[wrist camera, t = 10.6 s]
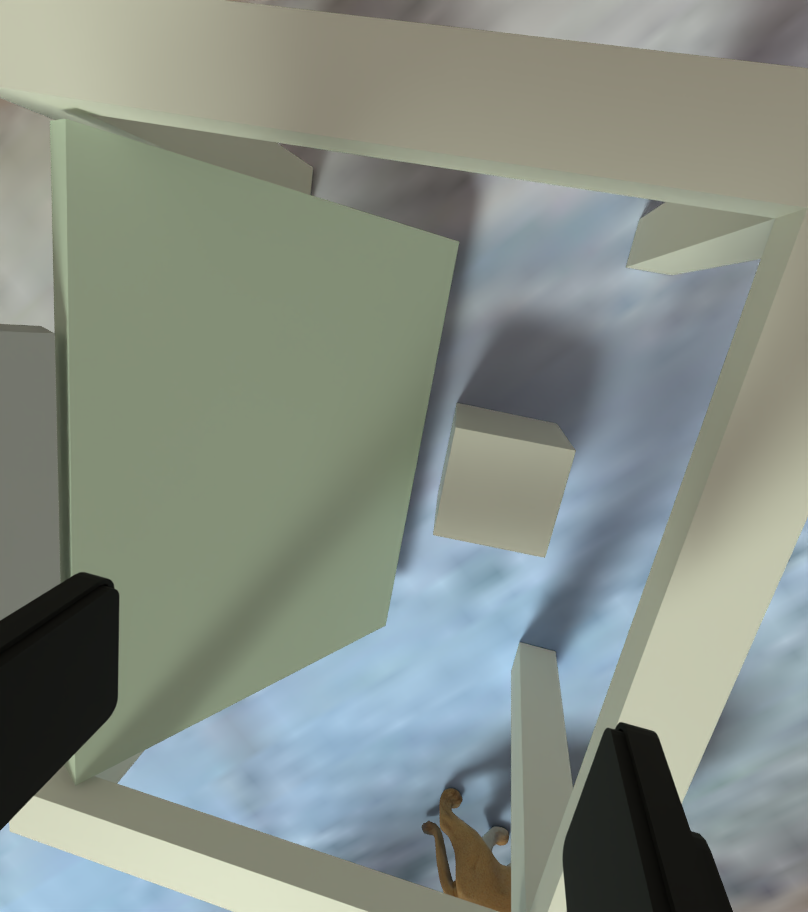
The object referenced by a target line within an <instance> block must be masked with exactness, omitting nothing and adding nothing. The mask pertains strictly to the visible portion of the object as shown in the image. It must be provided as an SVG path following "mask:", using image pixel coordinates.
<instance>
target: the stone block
mask: <svg viewBox="0 0 808 912" xmlns="http://www.w3.org/2000/svg"><path fill="white" fill-rule="evenodd" d="M575 452H576V450H575V449H574V447H573V446H572V445H571V443H570V442H569V440H568V439H567V437H566V436H565V435H564V433H563V432H562V430H561V429H560V428H559V426H558V425H557V424H556V423H551V422H547V421H542V420H537V419H532V418H528V417H523V416H518V415H513V414H509V413H504V412H499V411H494V410H490V409H485V408H480V407H475V406H470V405H465V404H460V403H457V404H456V408H455V413H454V418H453V423H452V428H451V432H450V437H449V442H448V447H447V452H446V457H445V461H444V466H443V471H442V476H441V481H440V485H439V490H438V496H437V505H436V513H435V522H434V531H433V535H436V536H441V537H446V538H451V539H455V540H460V541H465V542H470V543H475V544H480V545H485V546H490V547H495V548H500V549H505V550H510V551H515V552H520V553H524V554H529V555H534V556H539V557H544V558H545V556H546V553H547V549H548V546H549V542H550V539H551V535H552V532H553V528H554V525H555V521H556V518H557V514H558V511H559V507H560V504H561V501H562V497H563V494H564V490H565V487H566V483H567V480H568V476H569V473H570V469H571V466H572V462H573V459H574V455H575Z"/></svg>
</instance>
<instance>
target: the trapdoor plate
mask: <svg viewBox="0 0 808 912" xmlns="http://www.w3.org/2000/svg"><path fill="white" fill-rule="evenodd" d="M50 145H51V189H52V234H53V278H54V322H55V334H54V333H53V332H51V331H49V330H47V329H45V328H43V327H42V326H28V325H10V324H0V620H2V619H3V618H5V617H7V616H8V615H10V614H12V613H13V612H15V611H16V610H18V609H20V608H21V607H23V606H25V605H26V604H28V603H29V602H31V601H33V600H34V599H36V598H37V597H39V596H41V595H42V594H44V593H46V592H47V591H49V590H50V589H52V588H54V587H55V586H57V585H59V584H60V583H62V582H63V581H65V580H67V579H68V578H70V577H71V576H73V575H75V574H77V573H79V572H86V573H90V574H93V575H97V576H100V577H104V578H108V579H110V580H112V582H113V583H114V588H115V589H116V590H118V592H119V596H120V598H119V662H118V701H117V705H116V708H115V710H114V712H113V713H112V715H111V717H110V718H109V719H108V720H107V721H106V722H105V723H104V724H103V725H102V726H101V727H100V728H99V729H98V731H97V732H96V733H95V734H94V735H93V736H92V737H91V738H90V739H89V740H88V741H87V742H86V743H85V744H84V745H83V746H82V747H81V748H80V749H79V750H78V751H77V752H76V753H75V754H74V755H73V756H72V757H71V758H70V759H69V760H68V761H67V762H66V763H65V764H64V765H65V767H66V769H67V771H68V773H69V775H70V777H71V779H72V780H73V782H74V784H75V786H76V785H78V784H80V783H82V782H84V781H86V780H88V779H90V778H91V777H93V776H95V775H97V774H99V773H101V772H103V771H105V770H107V769H109V768H111V767H113V766H115V765H117V764H119V763H120V762H122V761H124V760H126V759H128V758H130V757H132V756H134V755H136V754H138V753H140V752H142V751H144V750H146V749H148V748H149V747H151V746H153V745H155V744H157V743H159V742H161V741H163V740H165V739H167V738H169V737H171V736H173V735H175V734H177V733H178V732H180V731H182V730H184V729H186V728H188V727H190V726H192V725H194V724H196V723H198V722H200V721H202V720H204V719H206V718H208V717H209V716H211V715H213V714H215V713H217V712H219V711H221V710H223V709H225V708H227V707H229V706H231V705H233V704H235V703H237V702H238V701H240V700H242V699H244V698H246V697H248V696H250V695H252V694H254V693H256V692H258V691H260V690H262V689H264V688H266V687H267V686H269V685H271V684H273V683H275V682H277V681H279V680H281V679H283V678H285V677H287V676H289V675H291V674H293V673H295V672H296V671H298V670H300V669H302V668H304V667H306V666H308V665H310V664H312V663H314V662H316V661H318V660H320V659H322V658H324V657H326V656H327V655H329V654H331V653H333V652H335V651H337V650H339V649H341V648H343V647H345V646H347V645H349V644H351V643H353V642H355V641H356V640H358V639H360V638H362V637H364V636H366V635H368V634H370V633H372V632H374V631H376V630H378V629H380V628H382V627H384V626H385V625H386V621H387V615H388V610H389V605H390V600H391V595H392V589H393V584H394V579H395V574H396V569H397V563H398V558H399V553H400V548H401V543H402V537H403V532H404V527H405V522H406V516H407V511H408V506H409V501H410V496H411V490H412V485H413V480H414V475H415V470H416V464H417V459H418V454H419V449H420V444H421V438H422V433H423V428H424V423H425V418H426V412H427V407H428V402H429V397H430V392H431V386H432V381H433V376H434V371H435V366H436V360H437V355H438V350H439V345H440V340H441V334H442V329H443V324H444V319H445V313H446V308H447V303H448V298H449V293H450V287H451V282H452V277H453V272H454V267H455V261H456V256H457V251H458V246H459V241H455V240H452V239H449V238H446V237H443V236H439V235H436V234H433V233H430V232H427V231H423V230H420V229H417V228H414V227H411V226H407V225H404V224H401V223H398V222H395V221H391V220H388V219H385V218H382V217H379V216H375V215H372V214H369V213H366V212H363V211H359V210H356V209H353V208H350V207H347V206H343V205H340V204H337V203H334V202H331V201H327V200H324V199H321V198H318V197H315V196H311V195H308V194H305V193H302V192H299V191H295V190H292V189H289V188H286V187H283V186H279V185H276V184H273V183H270V182H267V181H263V180H260V179H257V178H254V177H251V176H247V175H244V174H241V173H238V172H235V171H231V170H228V169H225V168H222V167H219V166H215V165H212V164H209V163H206V162H203V161H199V160H196V159H193V158H190V157H187V156H183V155H180V154H177V153H174V152H171V151H167V150H164V149H161V148H158V147H155V146H151V145H148V144H145V143H142V142H139V141H135V140H132V139H129V138H126V137H123V136H119V135H116V134H113V133H110V132H107V131H103V130H100V129H97V128H94V127H91V126H87V125H84V124H81V123H78V122H75V121H71V120H68V119H59V120H52V121H50ZM55 367H56V369H55ZM56 411H57V413H56ZM57 456H58V457H57ZM58 500H59V502H58ZM59 544H60V546H59Z"/></svg>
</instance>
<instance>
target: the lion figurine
mask: <svg viewBox="0 0 808 912" xmlns="http://www.w3.org/2000/svg"><path fill="white" fill-rule="evenodd" d="M461 802H462V796H461V795H460V793H459V792H458V791H457V790H456V789H453V788H449V789H446V790H444V791H443V793H442V795H441V798H440V804H439V808H440V827H441V829H442V831H443V832H444V833H445V834H446V835H447V836H448V837H449V839H450V841H451V843H452V846H453V848H454V852H455V860H456V881H454V882H453V880H452V877H451V873H450V869H449V864H448V860H447V855H446V849H445V845H444V840H443V836H442V833H441V830H440V828H439V827H438V826H437V825H436V824H435V823H433V822H430V821H427V822H426V823H423V825H422V830H423V832H424V833H425V834H428V835H434V837H435V847H436V859H437V867H438V873H439V879H440V883H441V886H442V889H443V892H444V893H445V894H448V895H451V896H454V897H457V898H460V899H463V900H466V901H469V902H472V903H475V904H478V905H481V906H484V907H487V908H490V909H493V910H496V911H499V912H511V863H510V864H509V865H507V866H504V865H501V864H500V863H499V862H498V861H497V859H496V858H495V857H494V855H493V853H492V848H493V846H494V845H495V844H497V845H500V846H501V845H506V844H507V842H508V840H509V833H508V831H507V830H506V829H505V828H502V827H492V828H491V829H490V830H489V831H488V832H487V833H486V834H485V835H484V836H483V837H481V836H480V835H479V834H478V832H476V831H475V830H474V829H473V828H471V827H470V826H469V825H467V824H466V823H465V822H464V821H463V820H461V819H460V818H458V817H457V816H456V815H455V814H454V813H453V812H452V808H457V807H459V806H460V804H461Z"/></svg>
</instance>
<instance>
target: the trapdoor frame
mask: <svg viewBox="0 0 808 912" xmlns="http://www.w3.org/2000/svg"><path fill="white" fill-rule="evenodd" d="M0 98H2V99H4V100H7V101H9V102H12V103H14V104H17V105H19V106H22V107H24V108H27V109H29V110H32V111H34V112H36V113H39V114H41V115H44V116H46V117H49V118H51V119H54V120H59V119H68V120H71V121H75V122H78V123H81V124H84V125H87V126H91V127H94V128H97V129H100V130H103V131H107V132H110V133H113V134H116V135H119V136H123V137H126V138H129V139H132V140H135V141H139V142H142V143H145V144H148V145H151V146H155V147H158V148H161V149H164V150H167V151H171V152H174V153H177V154H180V155H183V156H187V157H190V158H193V159H196V160H199V161H203V162H206V163H209V164H212V165H215V166H219V167H222V168H225V169H228V170H231V171H235V172H238V173H241V174H244V175H247V176H251V177H254V178H257V179H260V180H263V181H267V182H270V183H273V184H276V185H279V186H283V187H286V188H289V189H292V190H295V191H299V192H302V193H305V194H308V195H310V194H311V185H312V176H313V167H311V166H310V165H308V164H307V163H305V162H304V161H302V160H301V159H300V158H298V157H297V156H295V155H294V154H292V153H291V152H289V151H288V150H287V149H285V148H284V147H282V146H281V145H279V144H278V143H283V144H290V145H296V146H303V147H310V148H316V149H323V150H329V151H336V152H342V153H349V154H356V155H362V156H369V157H375V158H382V159H388V160H395V161H401V162H408V163H415V164H421V165H428V166H434V167H441V168H447V169H454V170H461V171H467V172H474V173H480V174H487V175H493V176H500V177H507V178H513V179H520V180H526V181H533V182H539V183H546V184H552V185H559V186H566V187H572V188H579V189H585V190H592V191H598V192H605V193H612V194H618V195H625V196H631V197H638V198H644V199H651V200H657V201H664V202H665V203H663V204H662V205H660V206H659V207H657V208H656V209H654V210H653V211H651V212H650V213H648V214H647V215H645V216H644V217H642V218H641V219H639V223H638V226H637V230H636V233H635V237H634V240H633V244H632V247H631V251H630V254H629V258H628V261H627V265H626V268H632V269H638V270H644V271H650V272H656V273H661V274H667V275H676V274H682V273H687V272H693V271H698V270H704V269H709V268H714V267H720V266H725V265H731V264H736V263H742V262H747V261H752V260H758V259H761V260H760V263H759V266H758V269H757V272H756V275H755V277H754V280H753V283H752V286H751V289H750V291H749V294H748V297H747V300H746V303H745V306H744V308H743V311H742V314H741V317H740V320H739V322H738V325H737V328H736V331H735V334H734V337H733V339H732V342H731V345H730V348H729V351H728V353H727V356H726V359H725V362H724V365H723V368H722V370H721V373H720V376H719V379H718V382H717V385H716V387H715V390H714V393H713V396H712V399H711V401H710V404H709V407H708V410H707V413H706V416H705V418H704V421H703V424H702V427H701V430H700V432H699V435H698V438H697V441H696V444H695V447H694V449H693V452H692V455H691V458H690V461H689V463H688V466H687V469H686V472H685V475H684V478H683V480H682V483H681V486H680V489H679V492H678V494H677V497H676V500H675V503H674V506H673V509H672V511H671V514H670V517H669V520H668V523H667V525H666V528H665V531H664V534H663V537H662V540H661V542H660V545H659V548H658V551H657V554H656V557H655V559H654V562H653V565H652V568H651V571H650V573H649V576H648V579H647V582H646V585H645V588H644V590H643V593H642V596H641V599H640V602H639V604H638V607H637V610H636V613H635V616H634V619H633V621H632V624H631V627H630V630H629V633H628V635H627V638H626V641H625V644H624V647H623V650H622V652H621V655H620V658H619V661H618V664H617V666H616V669H615V672H614V675H613V678H612V681H611V683H610V686H609V689H608V692H607V695H606V697H605V700H604V703H603V706H602V709H601V712H600V714H599V717H598V720H597V723H596V726H595V729H594V731H593V734H592V737H591V740H590V743H589V745H588V748H587V751H586V754H585V757H584V760H583V762H582V765H581V768H580V771H579V774H578V776H577V779H576V782H575V785H574V788H573V785H572V777H571V769H570V761H569V753H568V746H567V738H566V730H565V722H564V714H563V707H562V699H561V691H560V683H559V675H558V667H557V660H556V652H555V651H551V650H548V649H544V648H540V647H536V646H533V645H529V644H525V643H521V642H519V645H518V649H517V652H516V656H515V659H514V663H513V666H512V670H511V912H567V907H566V896H565V885H564V874H563V861H562V858H563V846H564V841H565V837H566V834H567V832H568V829H569V826H570V823H571V821H572V818H573V815H574V812H575V810H576V807H577V804H578V801H579V799H580V796H581V793H582V790H583V787H584V785H585V782H586V779H587V776H588V774H589V771H590V768H591V765H592V763H593V760H594V757H595V754H596V752H597V749H598V746H599V743H600V740H601V738H602V735H603V733H604V730H605V729H606V728H611V729H615V728H616V726H617V724H618V723H619V722H623V723H627V724H630V725H634V726H638V727H641V728H645V729H648V730H652V731H654V732H656V733H657V735H658V737H659V740H660V743H661V745H662V748H663V751H664V754H665V757H666V760H667V763H668V766H669V769H670V772H671V775H672V778H673V781H674V784H675V787H676V789H677V792H678V795H679V798H680V801H681V804H682V802H683V799H684V797H685V795H686V792H687V790H688V788H689V786H690V783H691V781H692V779H693V777H694V774H695V772H696V770H697V767H698V765H699V763H700V761H701V758H702V756H703V754H704V752H705V749H706V747H707V745H708V742H709V740H710V738H711V736H712V733H713V731H714V729H715V727H716V724H717V722H718V720H719V717H720V715H721V713H722V711H723V708H724V706H725V704H726V702H727V699H728V697H729V695H730V692H731V690H732V688H733V686H734V683H735V681H736V679H737V677H738V674H739V672H740V670H741V667H742V665H743V663H744V661H745V658H746V656H747V654H748V652H749V649H750V647H751V645H752V642H753V640H754V638H755V636H756V633H757V631H758V629H759V627H760V624H761V622H762V620H763V617H764V615H765V613H766V611H767V608H768V606H769V604H770V602H771V599H772V597H773V595H774V592H775V590H776V588H777V586H778V583H779V581H780V579H781V577H782V574H783V572H784V570H785V567H786V565H787V563H788V561H789V558H790V556H791V554H792V552H793V549H794V547H795V545H796V542H797V540H798V538H799V536H800V533H801V531H802V529H803V527H804V524H805V522H806V520H807V517H808V68H802V67H793V66H785V65H776V64H767V63H759V62H750V61H742V60H733V59H725V58H716V57H707V56H699V55H690V54H682V53H673V52H664V51H656V50H647V49H639V48H630V47H622V46H613V45H604V44H596V43H587V42H579V41H570V40H562V39H553V38H544V37H536V36H527V35H519V34H510V33H502V32H493V31H484V30H476V29H467V28H459V27H450V26H441V25H433V24H424V23H416V22H407V21H399V20H390V19H381V18H373V17H364V16H356V15H347V14H339V13H330V12H321V11H313V10H304V9H296V8H287V7H279V6H270V5H261V4H253V3H244V2H236V1H227V0H0ZM276 142H277V143H276ZM143 752H144V751H142V752H140V753H138V754H136V755H134V756H132V757H130V758H128V759H126V760H124V761H122V762H120V763H119V764H117V765H115V766H113V767H111V768H109V769H107V770H105V771H103V772H101V773H99V774H97V775H95V776H93V777H91V778H90V779H88V780H86V781H84V782H82V783H80V784H78V785H76V786H75V784H74V782H73V780H72V779H71V777H70V775H69V773H68V771H67V769H66V767H65V765H64V766H63V767H62V768H61V769H60V770H59V771H58V772H57V773H56V774H55V775H54V776H53V777H52V778H51V779H50V780H49V781H48V782H47V783H46V784H45V785H44V786H43V787H42V788H41V789H40V790H39V791H38V792H37V793H36V794H35V795H34V796H33V797H32V798H31V799H30V800H29V802H28V803H27V804H26V805H25V806H24V807H23V808H22V809H21V810H20V811H19V812H18V813H17V814H16V815H15V816H14V817H13V818H12V819H11V820H10V821H9V826H10V832H13V833H16V834H19V835H21V836H24V837H27V838H30V839H32V840H35V841H38V842H41V843H44V844H46V845H49V846H52V847H55V848H58V849H60V850H63V851H66V852H69V853H72V854H74V855H77V856H80V857H83V858H86V859H88V860H91V861H94V862H97V863H99V864H102V865H105V866H108V867H111V868H113V869H116V870H119V871H122V872H125V873H127V874H130V875H133V876H136V877H139V878H141V879H144V880H147V881H150V882H152V883H155V884H158V885H161V886H164V887H166V888H169V889H172V890H175V891H178V892H180V893H183V894H186V895H189V896H192V897H194V898H197V899H200V900H203V901H205V902H208V903H211V904H214V905H217V906H219V907H222V908H225V909H228V910H231V911H233V912H499V911H496V910H493V909H490V908H487V907H484V906H481V905H478V904H475V903H472V902H469V901H466V900H463V899H460V898H457V897H454V896H451V895H448V894H445V893H442V892H439V891H436V890H433V889H430V888H427V887H424V886H421V885H418V884H415V883H412V882H409V881H406V880H403V879H400V878H397V877H394V876H391V875H388V874H385V873H382V872H379V871H376V870H373V869H370V868H367V867H364V866H361V865H358V864H355V863H352V862H349V861H346V860H343V859H340V858H337V857H334V856H331V855H328V854H325V853H322V852H319V851H316V850H313V849H310V848H307V847H304V846H301V845H298V844H295V843H292V842H289V841H286V840H283V839H281V838H278V837H275V836H272V835H269V834H266V833H263V832H260V831H257V830H254V829H251V828H248V827H245V826H242V825H239V824H236V823H233V822H230V821H227V820H224V819H221V818H218V817H215V816H212V815H209V814H206V813H203V812H200V811H197V810H194V809H191V808H188V807H185V806H182V805H179V804H176V803H173V802H170V801H167V800H164V799H161V798H158V797H155V796H152V795H149V794H146V793H143V792H140V791H137V790H134V789H131V788H128V787H125V786H122V785H119V784H117V783H118V782H119V781H120V779H121V778H122V777H123V776H124V775H125V773H126V772H127V771H128V770H129V769H130V767H131V766H132V765H133V764H134V762H135V761H136V760H137V759H138V758H139V756H140V755H141V754H142V753H143Z"/></svg>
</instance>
